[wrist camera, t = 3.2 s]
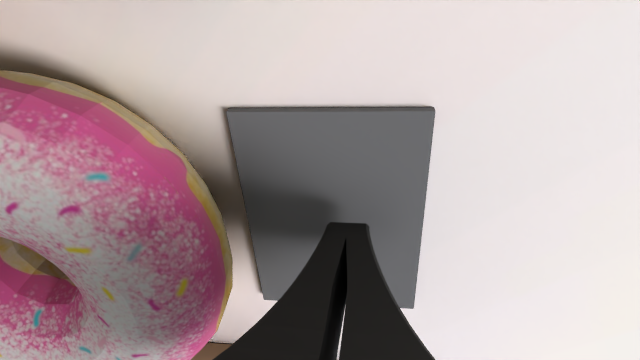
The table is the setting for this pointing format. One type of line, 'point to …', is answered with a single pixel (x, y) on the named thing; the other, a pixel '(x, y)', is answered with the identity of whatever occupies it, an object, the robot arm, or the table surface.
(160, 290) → the donut
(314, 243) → the grey flat panel
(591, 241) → the table surface
